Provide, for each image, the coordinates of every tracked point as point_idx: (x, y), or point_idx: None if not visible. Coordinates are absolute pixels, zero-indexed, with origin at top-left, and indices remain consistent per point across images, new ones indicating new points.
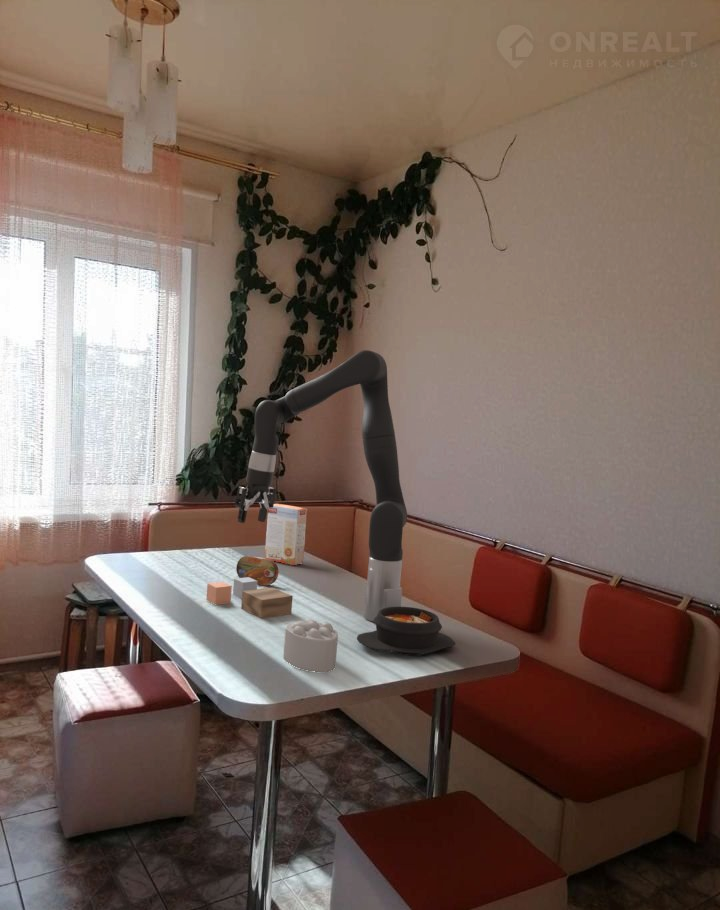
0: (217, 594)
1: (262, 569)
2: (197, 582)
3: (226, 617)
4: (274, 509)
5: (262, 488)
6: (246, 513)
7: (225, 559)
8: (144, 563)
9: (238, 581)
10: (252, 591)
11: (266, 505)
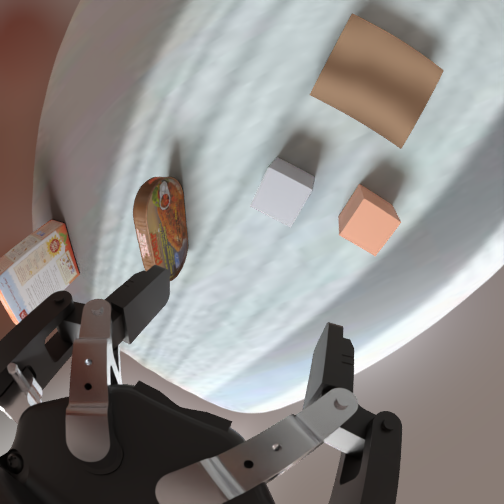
0: (393, 212)
1: (162, 217)
2: (259, 303)
3: (458, 144)
4: (22, 317)
5: (86, 493)
6: (324, 367)
7: None
8: (225, 381)
9: (301, 208)
10: (388, 122)
11: (99, 329)
